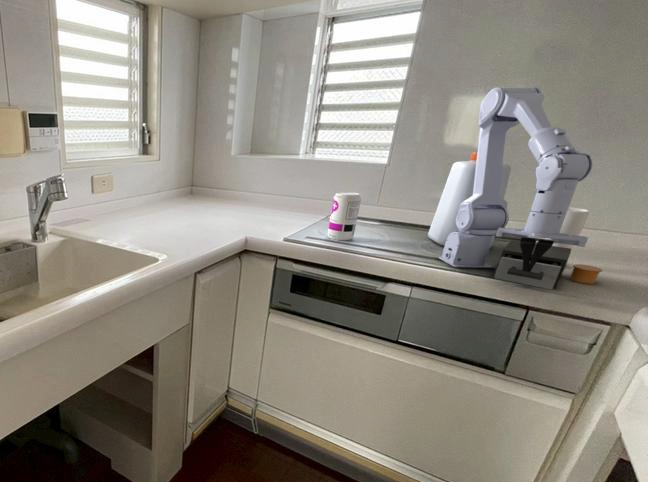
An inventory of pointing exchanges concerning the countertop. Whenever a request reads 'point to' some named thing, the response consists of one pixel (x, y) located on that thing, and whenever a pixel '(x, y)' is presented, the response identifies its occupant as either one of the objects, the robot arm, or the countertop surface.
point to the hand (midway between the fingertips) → (527, 272)
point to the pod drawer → (539, 276)
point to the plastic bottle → (459, 197)
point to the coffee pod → (585, 273)
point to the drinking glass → (572, 224)
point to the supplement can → (344, 215)
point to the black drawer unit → (551, 255)
